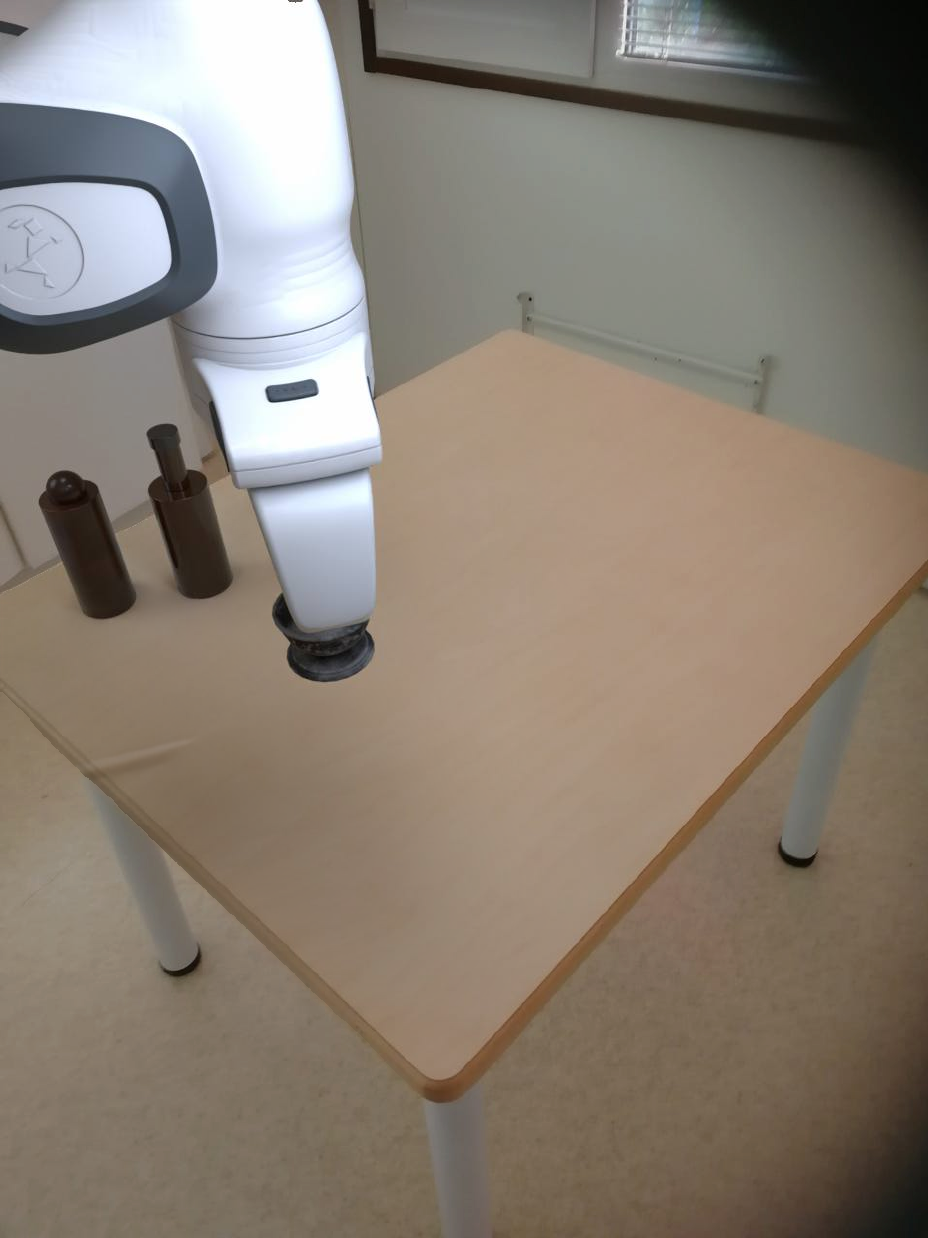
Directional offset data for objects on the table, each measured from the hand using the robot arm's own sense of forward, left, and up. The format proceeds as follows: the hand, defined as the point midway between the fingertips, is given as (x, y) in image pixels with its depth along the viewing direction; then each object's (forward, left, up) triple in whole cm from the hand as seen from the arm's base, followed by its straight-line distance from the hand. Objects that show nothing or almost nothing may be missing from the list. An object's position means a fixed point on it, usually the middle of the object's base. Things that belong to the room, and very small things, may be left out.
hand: (318, 585), depth 54 cm
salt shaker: (0, 0, -5) cm, 5 cm away
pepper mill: (-18, +33, -23) cm, 44 cm away
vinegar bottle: (-9, +33, -23) cm, 41 cm away
